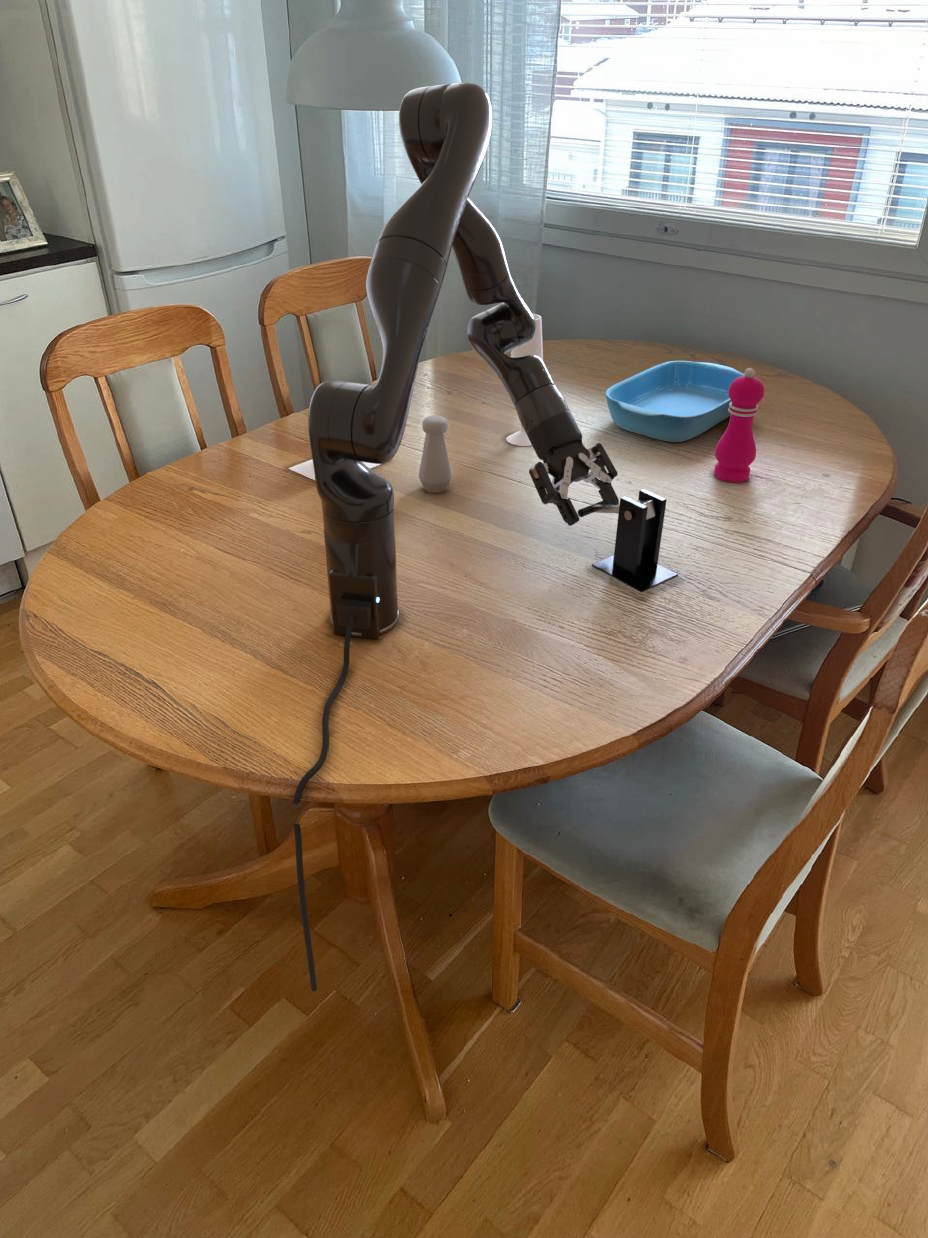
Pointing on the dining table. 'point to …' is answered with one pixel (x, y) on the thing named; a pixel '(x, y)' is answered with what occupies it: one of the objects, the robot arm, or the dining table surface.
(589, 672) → the dining table surface
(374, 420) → the robot arm
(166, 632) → the dining table surface
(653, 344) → the dining table surface
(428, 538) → the dining table surface
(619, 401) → the casserole dish
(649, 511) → the lever with crossbar handle
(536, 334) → the champagne flute
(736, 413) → the pepper mill
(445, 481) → the salt shaker
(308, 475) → the napkin holder
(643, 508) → the black lever stand
